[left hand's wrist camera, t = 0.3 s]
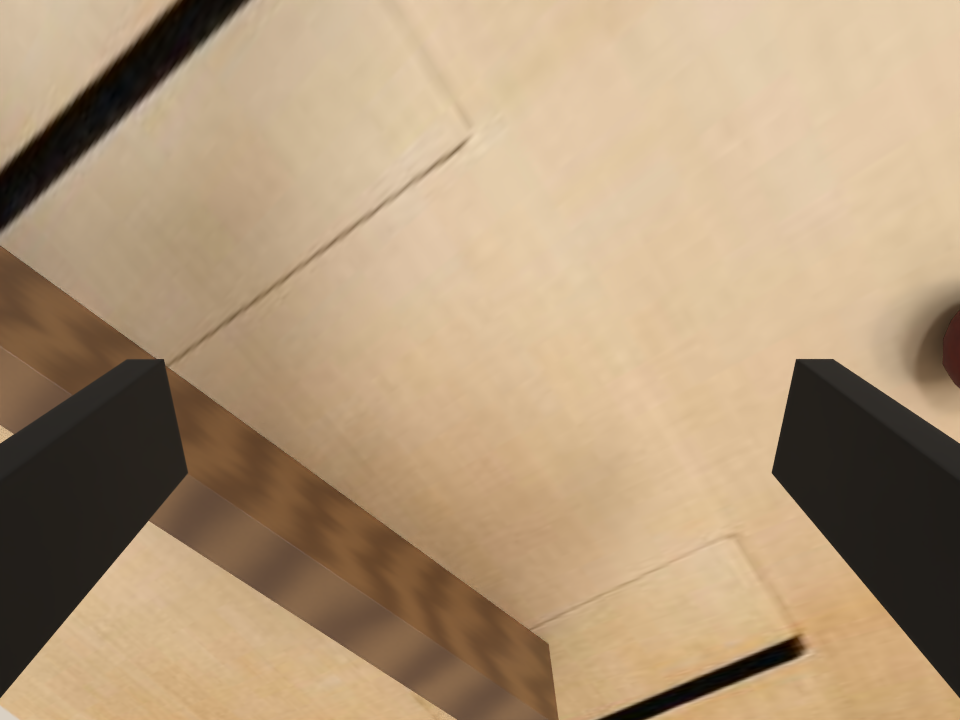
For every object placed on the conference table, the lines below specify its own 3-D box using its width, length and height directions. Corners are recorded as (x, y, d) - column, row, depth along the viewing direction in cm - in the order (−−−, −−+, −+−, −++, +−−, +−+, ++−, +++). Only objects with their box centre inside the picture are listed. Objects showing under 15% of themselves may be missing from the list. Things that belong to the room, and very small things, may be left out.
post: (-593, -93, 32) (-899, -155, 25) (-576, -173, 31) (-894, -263, 24) (511, 672, 53) (516, 758, 46) (548, 644, 52) (559, 726, 45)
